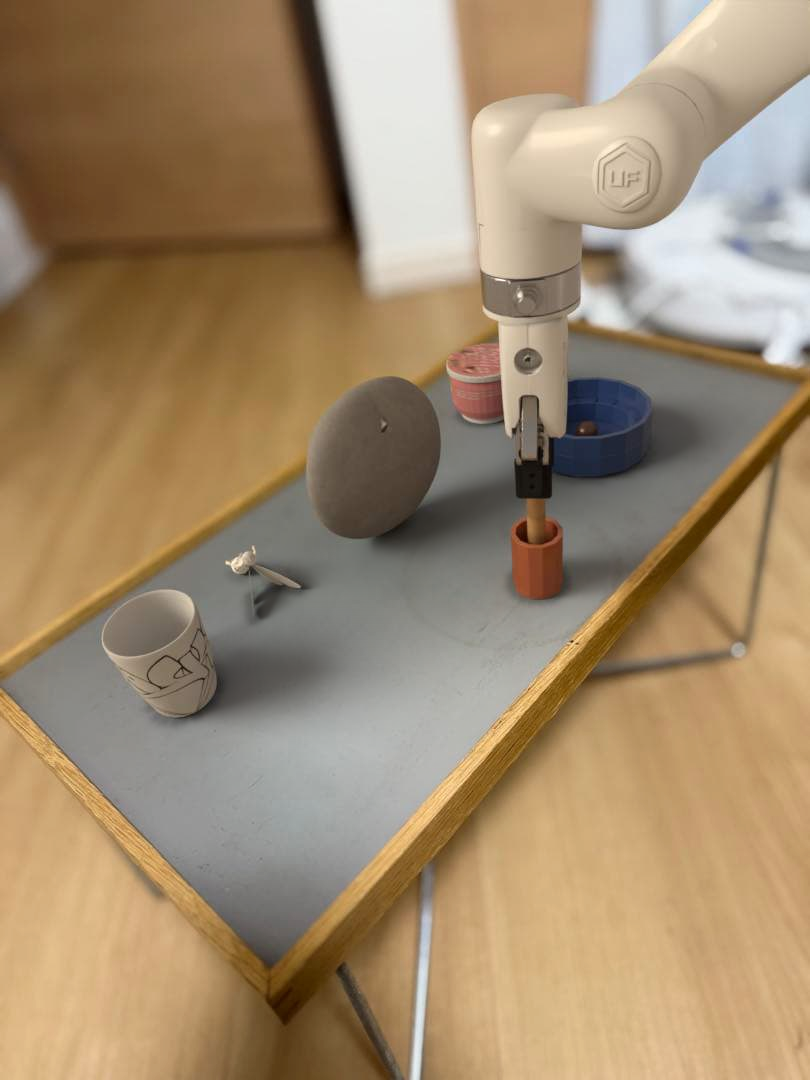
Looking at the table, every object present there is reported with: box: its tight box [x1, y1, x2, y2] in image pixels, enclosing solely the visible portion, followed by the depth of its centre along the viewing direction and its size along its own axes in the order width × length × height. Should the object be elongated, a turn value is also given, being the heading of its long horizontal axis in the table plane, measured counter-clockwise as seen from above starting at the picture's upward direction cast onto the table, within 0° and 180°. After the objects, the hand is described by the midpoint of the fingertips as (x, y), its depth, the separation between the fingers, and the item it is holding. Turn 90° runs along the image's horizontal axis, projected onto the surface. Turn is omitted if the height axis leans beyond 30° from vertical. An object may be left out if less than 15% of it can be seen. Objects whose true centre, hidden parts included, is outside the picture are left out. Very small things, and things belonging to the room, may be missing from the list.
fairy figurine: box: [225, 545, 302, 615], centre depth 79 cm, size 6×7×7 cm
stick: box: [525, 426, 547, 545], centre depth 68 cm, size 2×2×18 cm
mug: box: [101, 588, 218, 719], centre depth 66 cm, size 11×8×10 cm
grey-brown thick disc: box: [305, 375, 442, 540], centre depth 78 cm, size 18×7×19 cm, turn 132°
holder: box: [510, 515, 564, 600], centre depth 71 cm, size 5×5×7 cm
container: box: [445, 342, 504, 425], centre depth 100 cm, size 10×10×8 cm
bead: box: [575, 421, 599, 436], centre depth 90 cm, size 3×3×3 cm
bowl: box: [552, 376, 654, 477], centre depth 90 cm, size 15×15×6 cm
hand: (535, 479), depth 65 cm, fingers open, 4 cm apart
